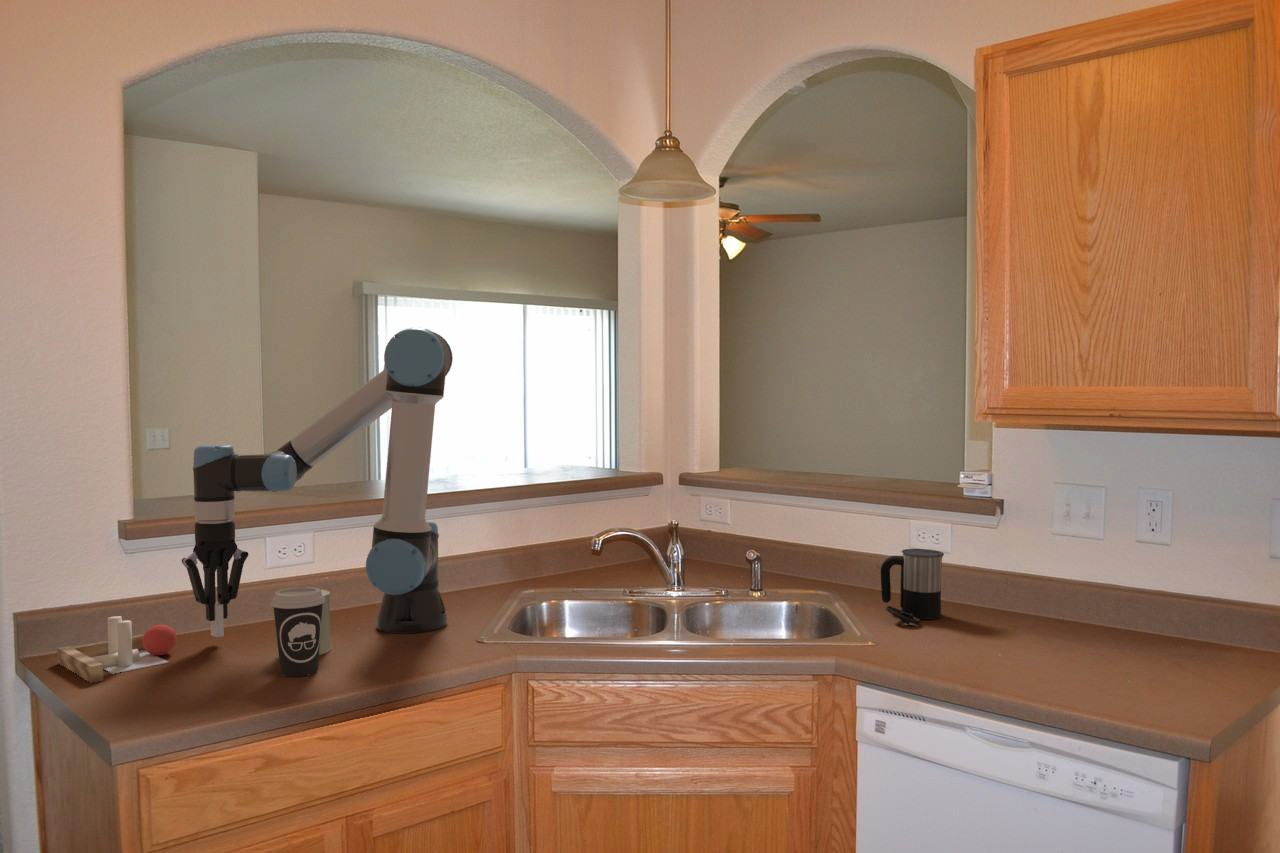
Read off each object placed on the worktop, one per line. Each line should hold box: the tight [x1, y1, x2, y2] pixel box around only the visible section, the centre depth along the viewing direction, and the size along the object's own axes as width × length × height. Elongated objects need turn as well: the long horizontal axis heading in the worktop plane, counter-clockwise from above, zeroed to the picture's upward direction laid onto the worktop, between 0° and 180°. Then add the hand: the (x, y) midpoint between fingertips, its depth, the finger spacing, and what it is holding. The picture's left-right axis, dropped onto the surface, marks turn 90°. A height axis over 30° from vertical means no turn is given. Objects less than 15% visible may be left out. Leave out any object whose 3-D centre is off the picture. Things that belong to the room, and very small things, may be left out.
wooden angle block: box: [57, 633, 146, 684], centre depth 185 cm, size 18×18×3 cm
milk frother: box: [880, 548, 945, 625], centre depth 218 cm, size 14×16×15 cm
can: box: [319, 589, 332, 656], centre depth 193 cm, size 9×9×12 cm
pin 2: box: [117, 619, 133, 667], centre depth 182 cm, size 2×2×8 cm
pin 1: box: [107, 615, 123, 654], centre depth 186 cm, size 2×2×8 cm
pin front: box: [91, 649, 140, 667], centre depth 183 cm, size 2×2×8 cm
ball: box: [143, 623, 178, 657], centre depth 190 cm, size 6×6×6 cm
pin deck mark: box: [103, 650, 169, 675], centre depth 185 cm, size 12×10×1 cm
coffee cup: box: [270, 586, 325, 677], centre depth 179 cm, size 10×10×15 cm
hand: (217, 635), depth 198 cm, fingers closed
